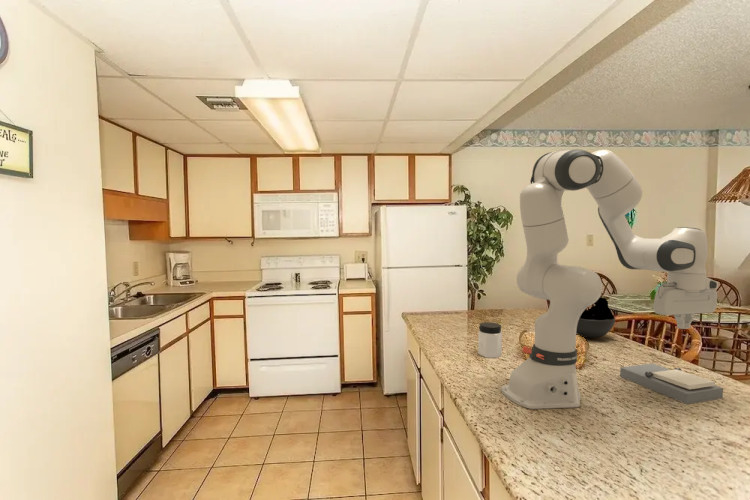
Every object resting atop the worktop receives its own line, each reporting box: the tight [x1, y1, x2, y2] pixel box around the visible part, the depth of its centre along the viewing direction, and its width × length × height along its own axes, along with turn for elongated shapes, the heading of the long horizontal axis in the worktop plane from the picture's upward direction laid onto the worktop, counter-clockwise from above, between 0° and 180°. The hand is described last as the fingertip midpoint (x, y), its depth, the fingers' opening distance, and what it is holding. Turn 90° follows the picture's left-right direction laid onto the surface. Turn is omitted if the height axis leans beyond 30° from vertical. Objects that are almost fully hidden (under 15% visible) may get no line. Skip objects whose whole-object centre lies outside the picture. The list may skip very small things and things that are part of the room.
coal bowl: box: [576, 296, 616, 339], centre depth 171 cm, size 20×20×19 cm
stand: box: [619, 363, 724, 405], centre depth 117 cm, size 14×21×5 cm, turn 15°
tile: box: [652, 368, 716, 390], centre depth 113 cm, size 10×11×1 cm
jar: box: [477, 321, 503, 359], centre depth 147 cm, size 9×8×12 cm
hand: (683, 328), depth 111 cm, fingers closed
